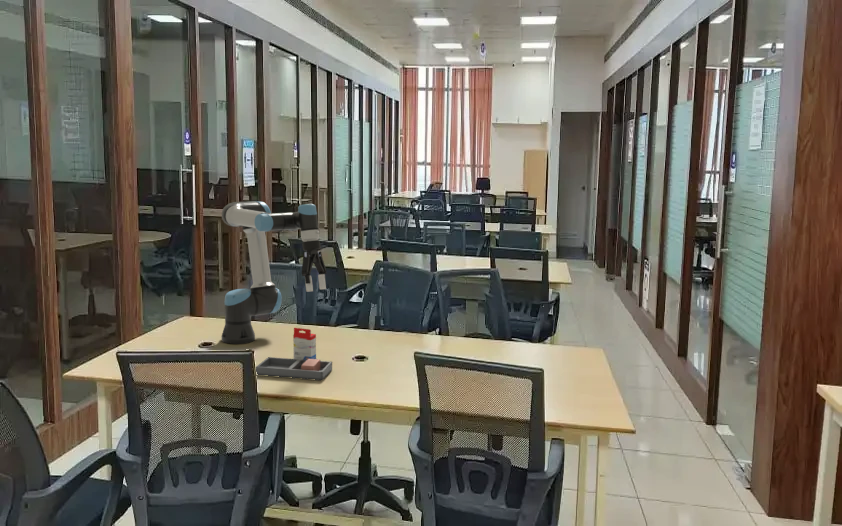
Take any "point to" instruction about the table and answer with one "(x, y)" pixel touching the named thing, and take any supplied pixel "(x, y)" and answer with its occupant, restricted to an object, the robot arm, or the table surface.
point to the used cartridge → (311, 365)
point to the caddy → (292, 368)
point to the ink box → (304, 344)
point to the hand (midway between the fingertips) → (316, 290)
